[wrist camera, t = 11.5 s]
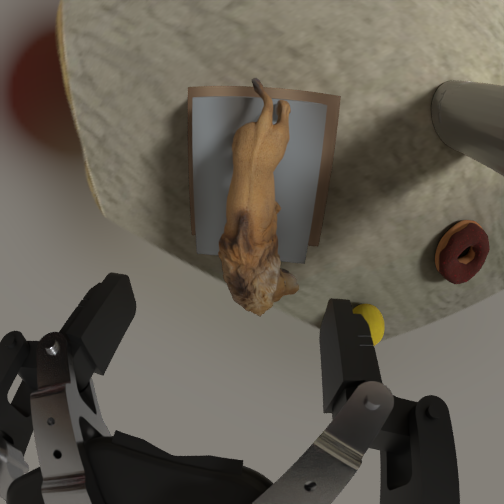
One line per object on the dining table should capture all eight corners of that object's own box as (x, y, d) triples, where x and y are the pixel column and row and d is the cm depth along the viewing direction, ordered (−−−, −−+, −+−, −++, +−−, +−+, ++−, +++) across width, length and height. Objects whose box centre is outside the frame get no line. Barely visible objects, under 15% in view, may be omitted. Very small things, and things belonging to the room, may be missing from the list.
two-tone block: (331, 95, 25) (354, 97, 17) (313, 225, 34) (323, 274, 26) (202, 87, 26) (168, 86, 18) (202, 215, 35) (178, 260, 26)
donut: (482, 209, 30) (496, 222, 26) (479, 261, 34) (490, 275, 31) (430, 227, 32) (443, 242, 29) (431, 280, 37) (441, 296, 34)
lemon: (358, 288, 39) (370, 328, 32) (384, 300, 40) (397, 339, 33) (337, 311, 42) (343, 351, 35) (362, 322, 42) (371, 361, 36)
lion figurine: (295, 250, 25) (299, 326, 17) (236, 251, 25) (217, 325, 18) (290, 77, 17) (298, 63, 9) (217, 82, 17) (173, 77, 10)
